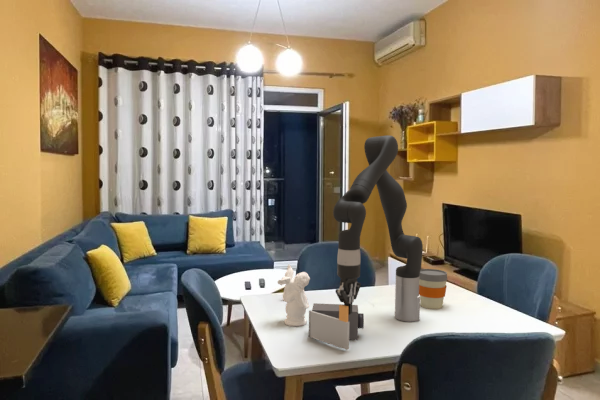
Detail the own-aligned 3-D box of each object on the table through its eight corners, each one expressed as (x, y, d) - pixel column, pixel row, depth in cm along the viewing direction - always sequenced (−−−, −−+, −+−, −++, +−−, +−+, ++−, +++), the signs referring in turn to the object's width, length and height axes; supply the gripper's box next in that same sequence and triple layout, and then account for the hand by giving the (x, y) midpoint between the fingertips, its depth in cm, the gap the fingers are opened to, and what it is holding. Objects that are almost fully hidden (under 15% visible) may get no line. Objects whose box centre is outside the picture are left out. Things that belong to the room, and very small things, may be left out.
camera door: (349, 349, 148) (349, 306, 147) (347, 349, 147) (347, 307, 146) (310, 335, 159) (310, 296, 158) (308, 336, 159) (308, 296, 158)
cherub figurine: (312, 325, 173) (314, 268, 171) (284, 331, 166) (285, 272, 164) (295, 316, 183) (296, 262, 181) (268, 321, 176) (269, 265, 174)
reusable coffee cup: (414, 308, 195) (415, 273, 194) (418, 300, 206) (419, 267, 205) (445, 311, 190) (446, 276, 189) (447, 303, 202) (448, 270, 201)
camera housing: (362, 332, 166) (363, 305, 165) (363, 340, 158) (364, 312, 157) (313, 330, 168) (313, 303, 167) (311, 338, 160) (312, 310, 159)
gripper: (348, 267, 142) (347, 321, 143) (368, 260, 152) (367, 310, 154) (328, 264, 146) (327, 316, 148) (349, 257, 157) (348, 306, 158)
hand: (348, 313), depth 151 cm, fingers closed
